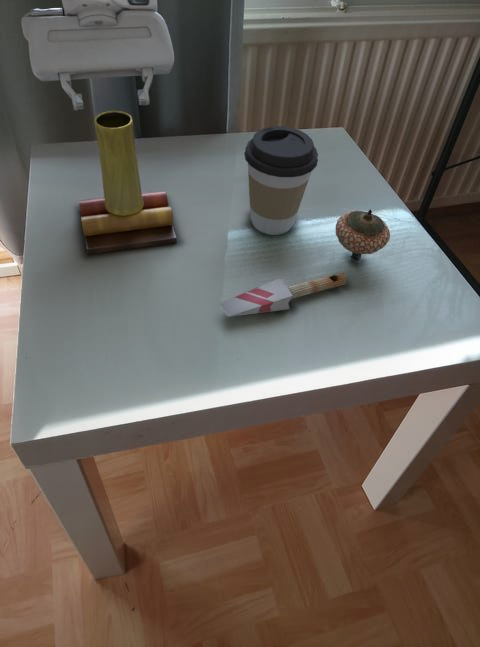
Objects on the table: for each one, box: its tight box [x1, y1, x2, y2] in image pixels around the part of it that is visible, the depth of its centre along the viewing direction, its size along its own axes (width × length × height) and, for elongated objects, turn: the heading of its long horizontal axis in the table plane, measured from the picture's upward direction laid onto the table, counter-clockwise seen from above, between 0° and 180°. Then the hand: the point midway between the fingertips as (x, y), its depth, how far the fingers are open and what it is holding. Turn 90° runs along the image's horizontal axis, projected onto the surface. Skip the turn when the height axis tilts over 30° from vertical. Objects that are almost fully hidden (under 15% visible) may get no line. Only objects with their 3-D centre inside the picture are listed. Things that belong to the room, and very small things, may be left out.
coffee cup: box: [243, 125, 319, 236], centre depth 81 cm, size 11×11×15 cm
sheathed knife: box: [219, 272, 348, 318], centre depth 73 cm, size 4×3×20 cm
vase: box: [93, 110, 144, 216], centre depth 75 cm, size 6×6×14 cm
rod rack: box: [78, 190, 178, 255], centre depth 82 cm, size 14×12×4 cm
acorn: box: [335, 208, 391, 262], centre depth 78 cm, size 8×8×10 cm
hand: (112, 106), depth 74 cm, fingers open, 8 cm apart
